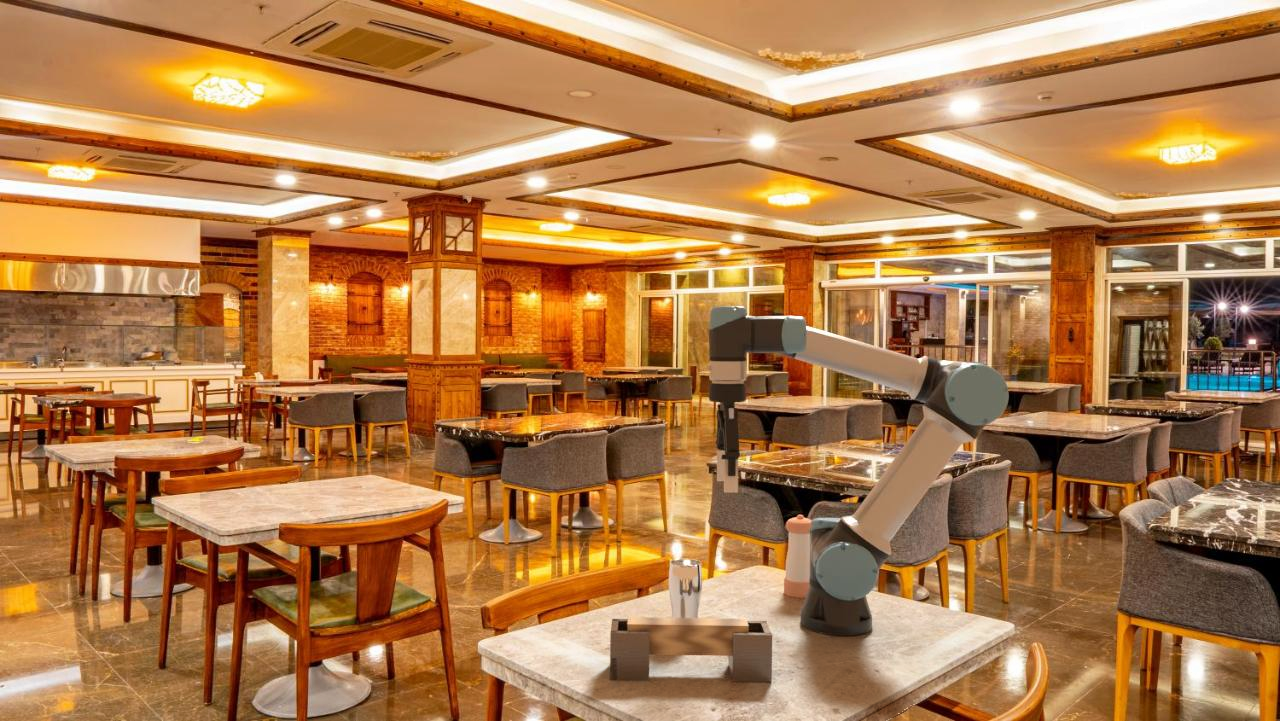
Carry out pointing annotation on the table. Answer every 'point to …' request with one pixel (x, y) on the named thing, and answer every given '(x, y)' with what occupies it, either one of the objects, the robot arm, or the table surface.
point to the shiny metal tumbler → (685, 587)
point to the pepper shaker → (798, 557)
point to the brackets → (744, 664)
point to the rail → (689, 634)
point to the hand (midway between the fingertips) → (727, 486)
